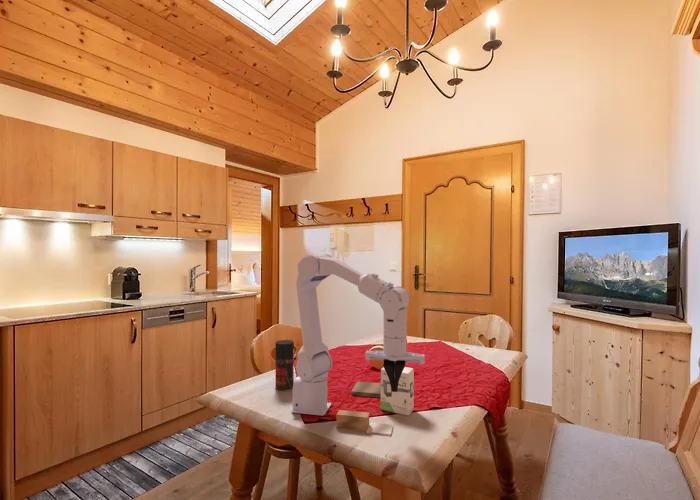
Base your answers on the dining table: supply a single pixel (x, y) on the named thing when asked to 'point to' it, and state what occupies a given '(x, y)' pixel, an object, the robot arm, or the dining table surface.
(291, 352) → the deodorant
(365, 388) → the board
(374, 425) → the blocks
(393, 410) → the ink box
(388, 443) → the dining table surface
